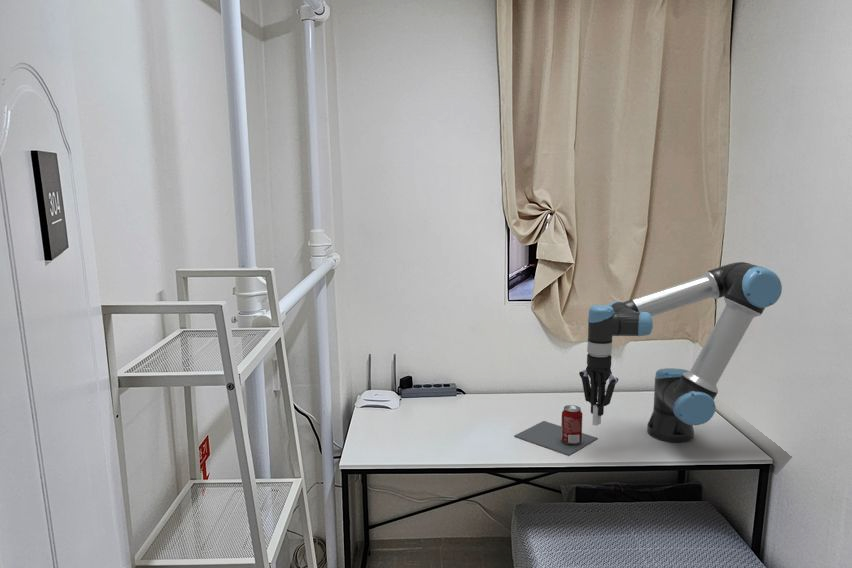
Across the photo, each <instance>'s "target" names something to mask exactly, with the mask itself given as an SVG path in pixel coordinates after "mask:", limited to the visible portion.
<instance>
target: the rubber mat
mask: <svg viewBox="0 0 852 568" xmlns="http://www.w3.org/2000/svg"><path fill="white" fill-rule="evenodd" d="M513 436H514V438H517V439H520V440H522V441H525V442H529V443H532V444H534V445H537V446H540V447H543V448H546V449H549V450H551V451H554V452H557V453H560V454H562V455H566V456H568V457H570V456H571V455H573V454H575V453H577V452H579V451H581V450H582V449H583V448H585V447H587V446H588V445H590V444H592V443H593V442H595V441H597V440H598V439H599V438H598V437H596V436H592V435H591V434H590V435H589V434H587V433H584V432H582V441H581V442H580V443H578V444H576V445H569V444H566V443H564V442H563V441H562V440H561V425H558V424H555V423H552V422H549V421H546V420H542V421H540V422H538V423H537V424H534V425H533V426H531V427H529V428H526V429H525V430H523V431H521V432H518V433H515V434H514V435H513Z"/></svg>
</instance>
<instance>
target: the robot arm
mask: <svg viewBox="0 0 852 568" xmlns="http://www.w3.org/2000/svg"><path fill="white" fill-rule="evenodd" d="M782 291H783V285H782V282H781V279H780V277H779V276H778V275H777V273H776V272H774V271H773V270H770V269H768V268H767V267H763V266H760V265H756V264H751V263H749V262H745V261H739V262H737V261H736V262H732V263H728V264H725V265H722V266H719V267H716V268H713V269H710V270H707V271H705V272H704V273H703V274H702V276H699V277H696V278H693V279H689V280H686V281H683V282H681V283H678V284H675V285H672V286H669V287H666V288H662V289H660V290H659V289H658V290H656V291H654V292H650V293H647V294H644V295H641V296H639V297H636V298H633V299H629V300H626V301H612V302H610V303H609V304H608V305H606V304H604V305H603V304H595V305H592V306H591V307H590V308H589V309H588V310H589V311H588V318H587V324H588V325H587V348H586V352H587V355H586V368H585V369H583V370H582V371H579V372H578V373H579V374H578V375H579V376H580V379H581V383H582V388H583V394H584V398H585V401H586V403H587V402H588V403H589V404H590V414H592V426H596V427H597V426H599V425H600V424H601V422H602V416H603V415H604V413H605V410H604V409H605V407H607V406H608V405H610V403H611V400H612V398H613V395H614V394H613V393H614V390H615V388H616V387H615V386H616V384H617V383H618V382H619V378H618V377H615V376H614V375H613V373H612V369H611V367H612V359H613V358H612V357H613V356H612V353H613V351H612V350H613V349H612V348H613V338H614V337H644V336H645V337H646V336H647V337H648V336H650V334H651V333H652V332H653V327H654V326H653V325H654V323H653V318H652V317H655V316H657V315H661V314H664V313H667V312H670V311H673V310H677V309H679V308H683V307H686V306H688V305H691V304H695V303H698V302H701V301H703V300H708V299H710V298H712V299H714V300H717V299H720V298H723V301H724V303H725V305H724V306H725V307H724V308H723V309H722V312H721V314H720V316H719V317H718V320H717V321H716V323H715V325H714V327H713V329H712V330H711V332H710V334H709V336H708V337H707V339H706V341H705V344H704V345H703V346H702V349H701V350H700V352H699V354H698V356H697V358H696V360H695V361H694V363H693V365H692V367H691V368H690V370H687V369H684V368H670V367H669V368H668V367H665V368H660V369H658V370H657V371H656V372H655V377H654V393H653V394H654V397H653V411H652V413H651V415H650V418H649V421H648V422H647V426H646V431H647V434H648V435H649V436H651V437H652V438H655V439H657V440H660V441H663V442H669V443H687V442H690V441H691V440H693V439H694V435H695V430H694V426H700V425H704V424H706V423H708V422H709V421H710V420H711V419H712V418H713V417H714V415H715V413H716V410H717V408H716V403H715V398H716V397H717V395H718V393H719V390H718V387H717V384H718V382H719V380H720V378H721V377H722V375H723V373H724V371H725V369H726V368H727V366H728V364H729V363H730V360H731V358H732V357H733V356H734V353H735V352H736V350H737V348H738V346H739V345H740V344H741V343H740V342H741V341H742V339H743V338H744V335H745V333H746V332H747V330H748V328H749V327H750V325H751V323H752V321H753V319H755V317H760V316H762V314H763V313H764V311H765V309H766V308H768V307H770V306H773V305H774V304H775V303H777V302H778V300H779V299H780V298H781V295H782ZM607 381H608V384H607ZM606 385H607V386H606Z"/></svg>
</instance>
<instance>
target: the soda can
mask: <svg viewBox="0 0 852 568" xmlns="http://www.w3.org/2000/svg"><path fill="white" fill-rule="evenodd" d="M581 409H582V408H581V407H580V406H577V405H572V404H568V405H564V406H563V409H562V411H561V425H560V426H561V440H562V441H563V442H564V443H566V444H569V445H576V444H578V443H580V442H581V441H582V433H583V432H582V431H583V412H582V410H581Z"/></svg>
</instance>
